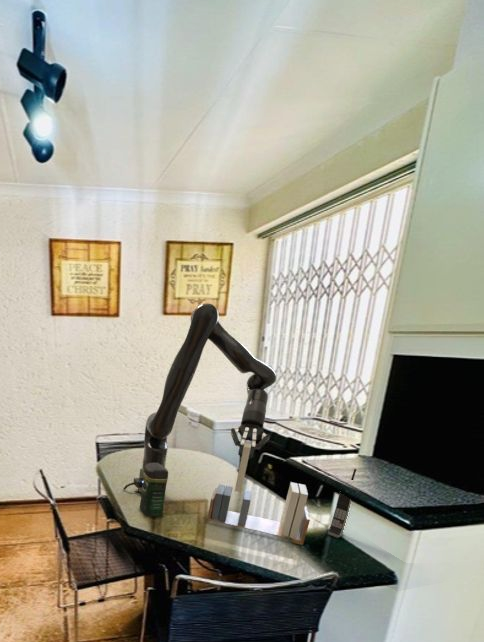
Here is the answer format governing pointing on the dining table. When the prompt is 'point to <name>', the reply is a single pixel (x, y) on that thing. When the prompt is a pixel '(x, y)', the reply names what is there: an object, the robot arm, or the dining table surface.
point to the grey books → (223, 504)
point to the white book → (243, 466)
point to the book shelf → (263, 523)
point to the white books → (293, 509)
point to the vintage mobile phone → (340, 514)
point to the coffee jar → (153, 490)
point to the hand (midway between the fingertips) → (245, 456)
